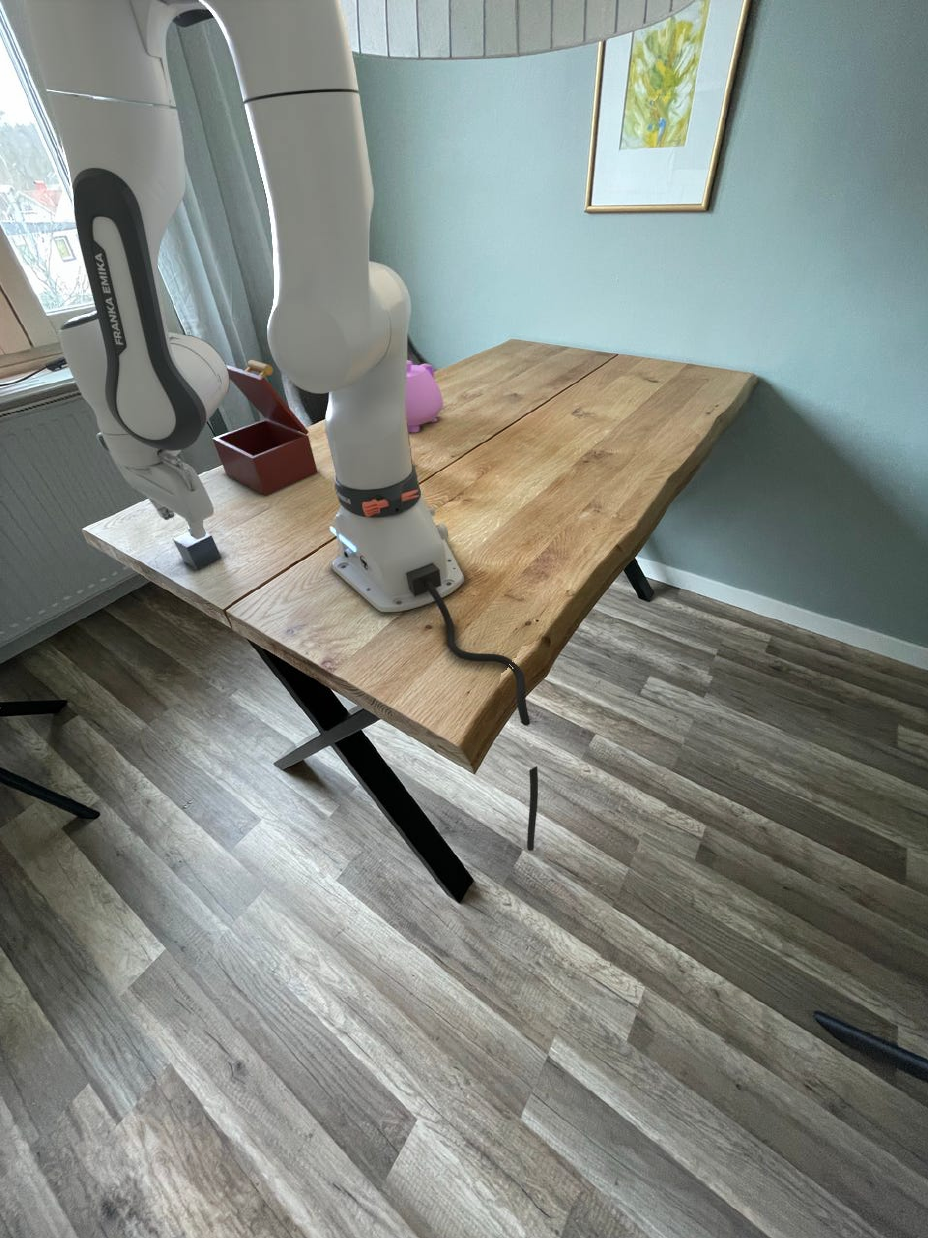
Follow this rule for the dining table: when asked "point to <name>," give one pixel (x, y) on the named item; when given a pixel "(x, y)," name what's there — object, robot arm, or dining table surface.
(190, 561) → the block
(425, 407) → the pink piggy bank
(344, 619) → the dining table surface
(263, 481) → the red hinged box
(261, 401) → the cover
